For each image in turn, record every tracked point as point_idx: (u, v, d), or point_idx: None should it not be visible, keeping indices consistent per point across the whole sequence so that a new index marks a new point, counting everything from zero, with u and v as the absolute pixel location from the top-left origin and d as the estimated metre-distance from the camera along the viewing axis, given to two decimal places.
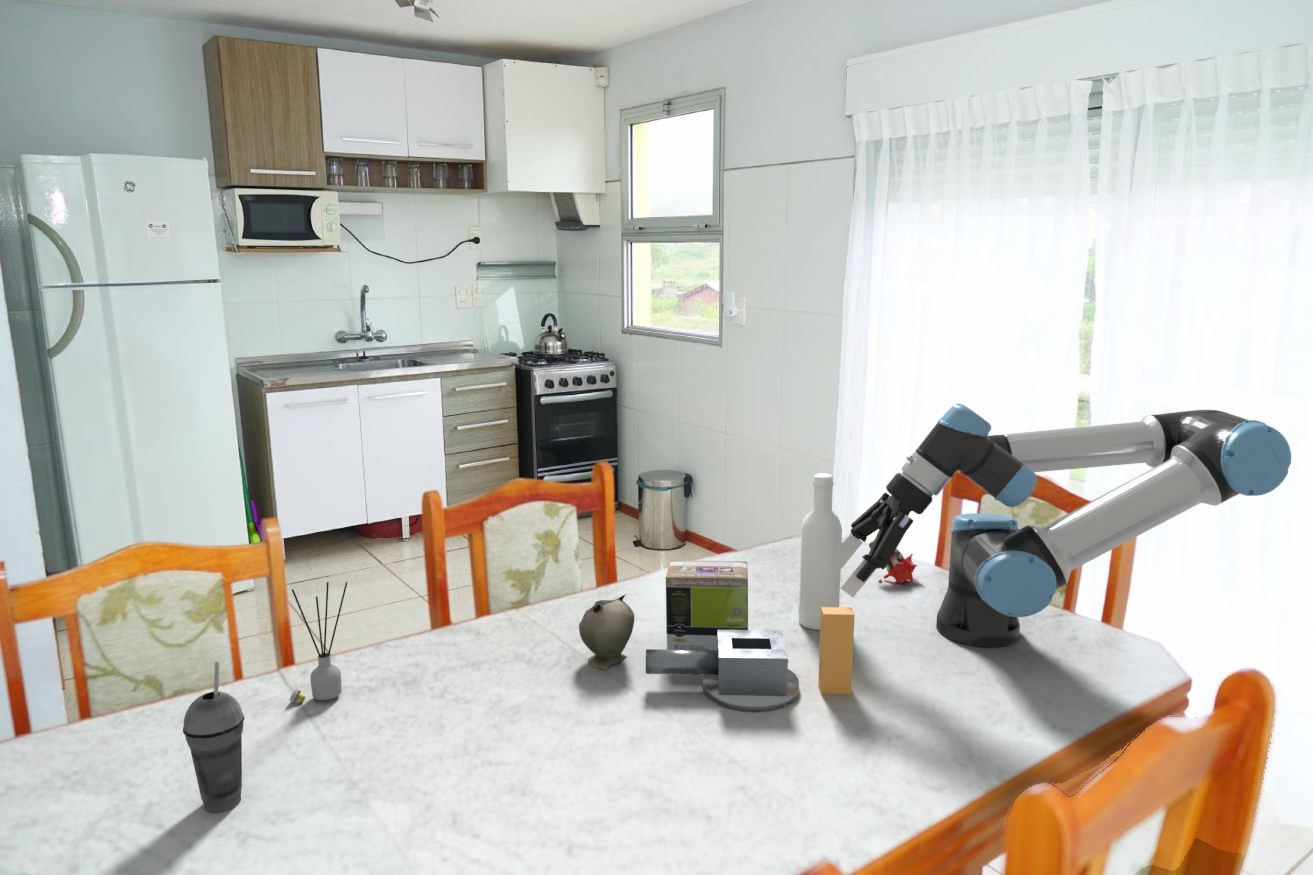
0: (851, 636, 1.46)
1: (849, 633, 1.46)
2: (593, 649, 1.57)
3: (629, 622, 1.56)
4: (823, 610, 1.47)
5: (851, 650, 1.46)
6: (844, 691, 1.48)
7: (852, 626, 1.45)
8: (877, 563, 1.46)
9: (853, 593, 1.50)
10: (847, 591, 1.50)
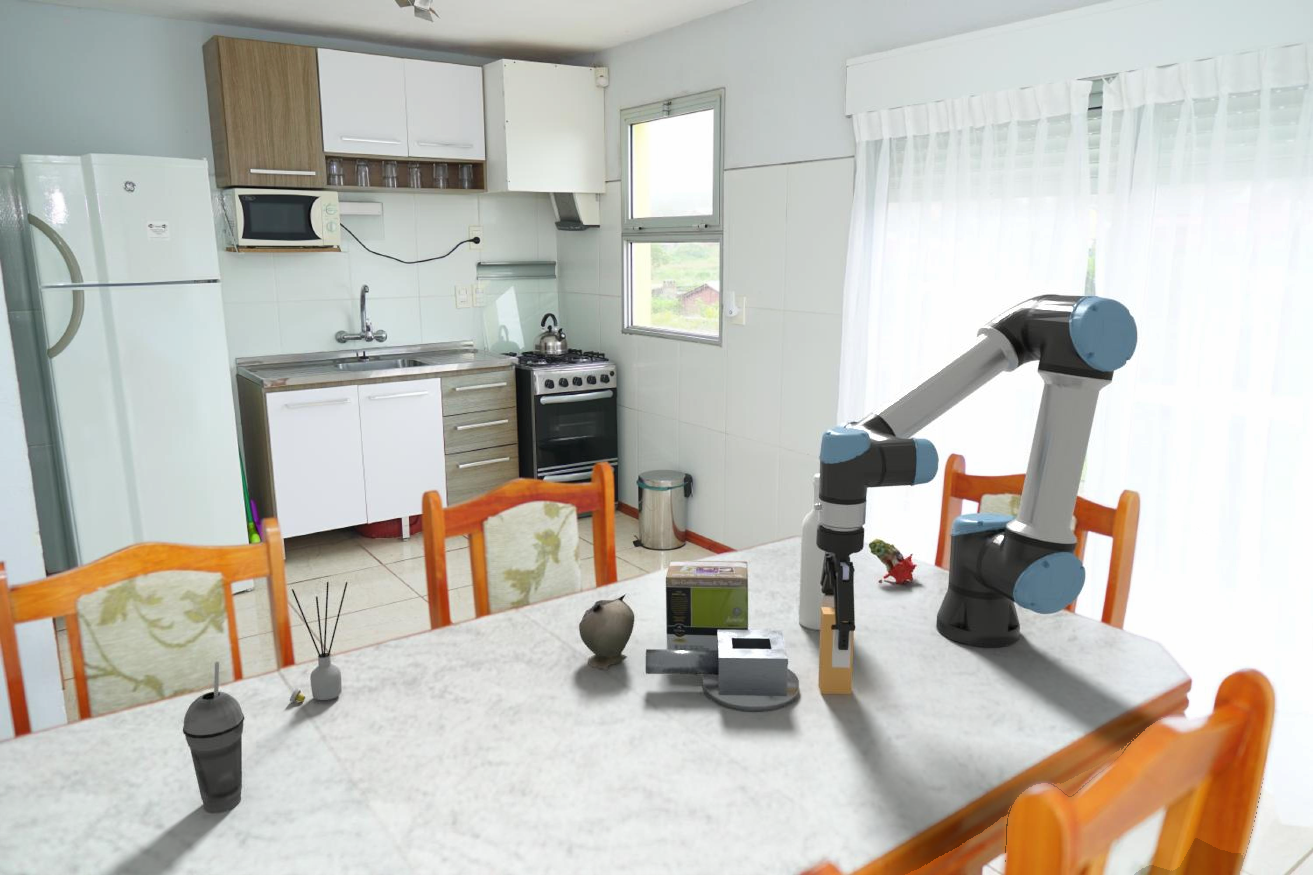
0: None
1: None
2: (593, 649, 1.57)
3: (629, 622, 1.56)
4: (823, 610, 1.47)
5: (851, 650, 1.46)
6: (844, 691, 1.48)
7: None
8: (845, 629, 1.36)
9: (847, 664, 1.41)
10: (840, 665, 1.41)
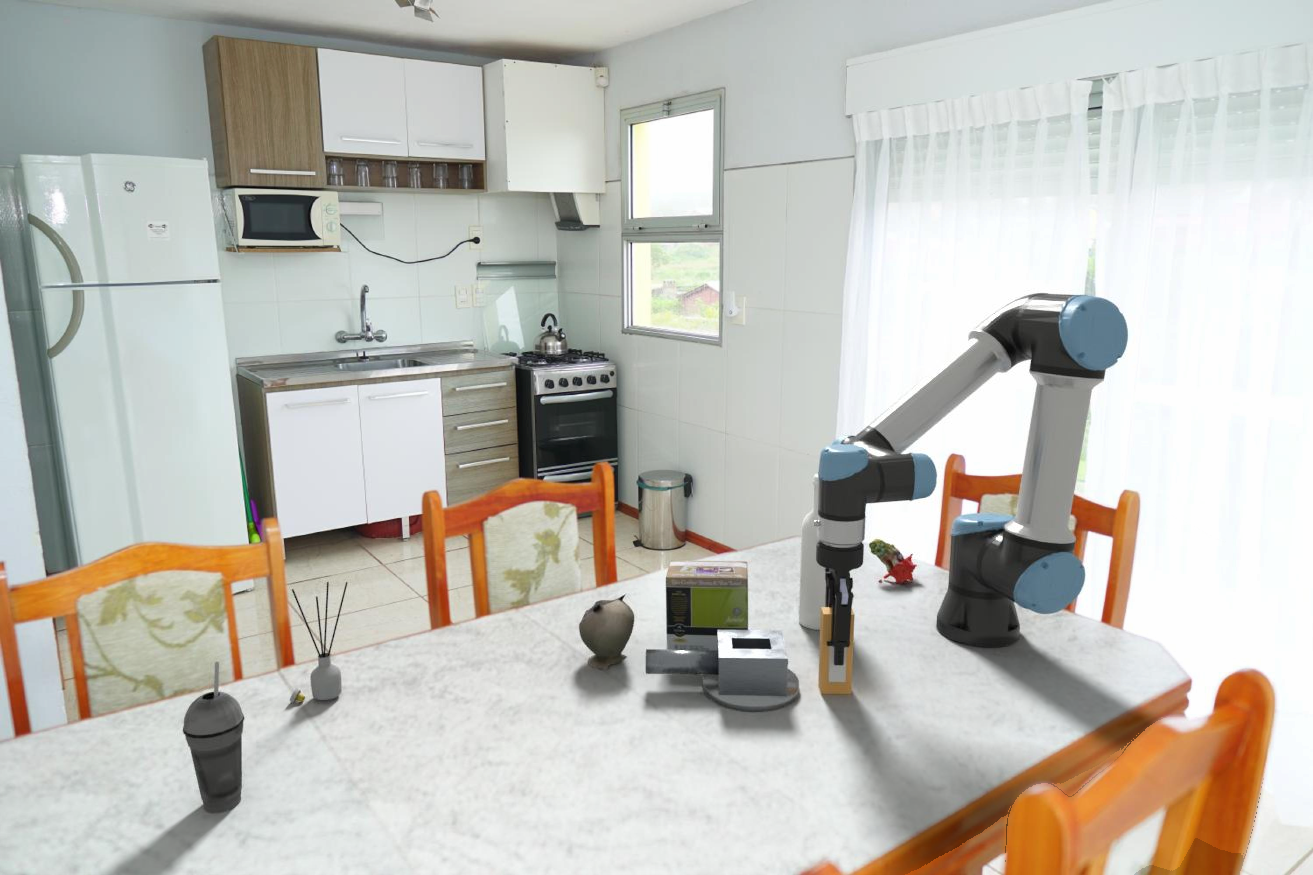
0: (851, 636, 1.46)
1: None
2: (593, 649, 1.57)
3: (629, 622, 1.56)
4: (823, 610, 1.47)
5: (851, 650, 1.46)
6: (844, 691, 1.48)
7: (852, 626, 1.45)
8: (840, 645, 1.42)
9: (843, 678, 1.46)
10: (836, 680, 1.47)
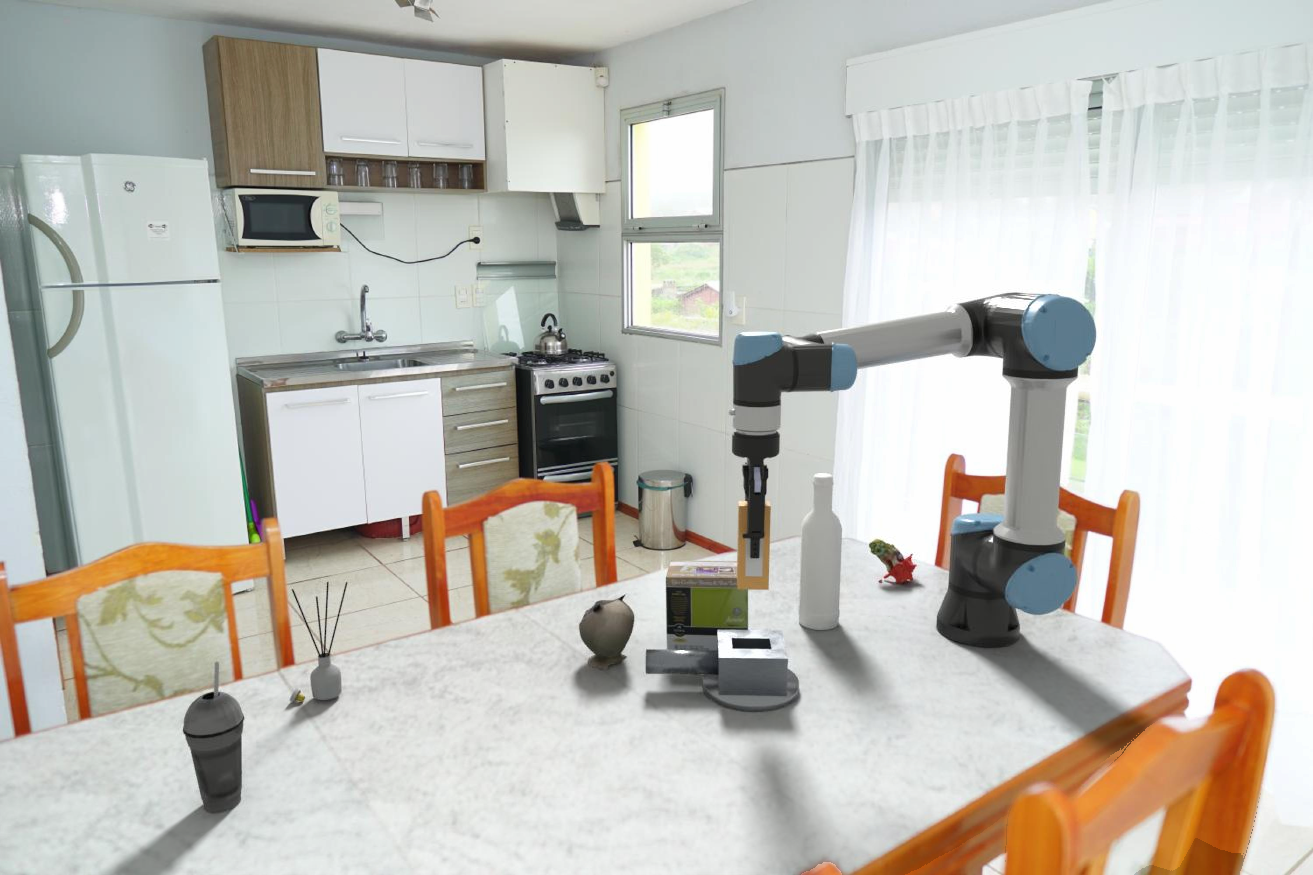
0: (767, 528, 1.43)
1: (765, 526, 1.43)
2: (593, 649, 1.57)
3: (629, 622, 1.56)
4: (740, 503, 1.44)
5: (768, 544, 1.43)
6: (761, 586, 1.45)
7: (768, 518, 1.42)
8: (754, 536, 1.39)
9: (760, 573, 1.43)
10: (753, 574, 1.44)
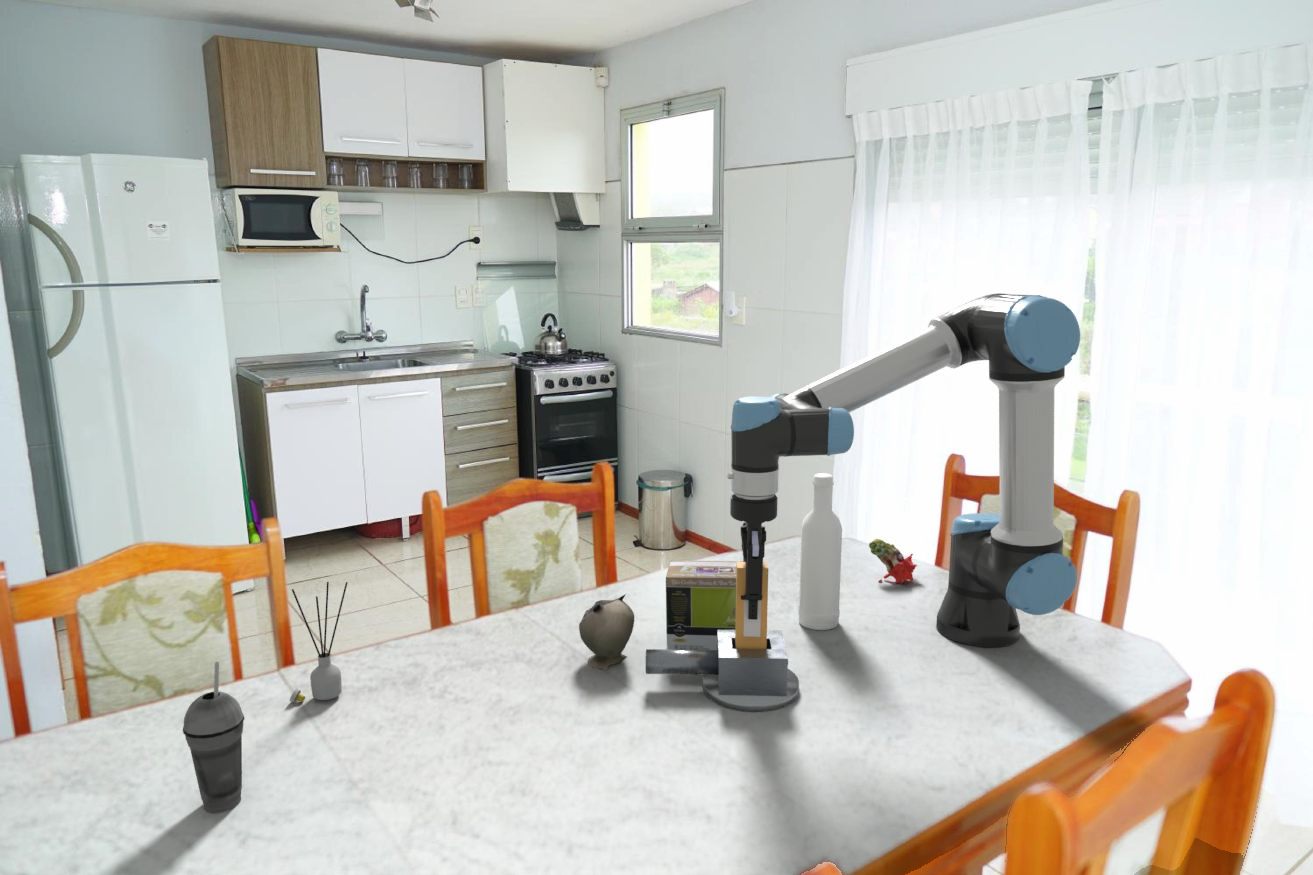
0: (765, 590, 1.45)
1: (763, 587, 1.45)
2: (593, 649, 1.57)
3: (629, 622, 1.56)
4: (738, 564, 1.46)
5: (766, 604, 1.45)
6: (759, 646, 1.47)
7: (766, 580, 1.44)
8: (752, 599, 1.41)
9: (758, 633, 1.46)
10: (751, 634, 1.46)
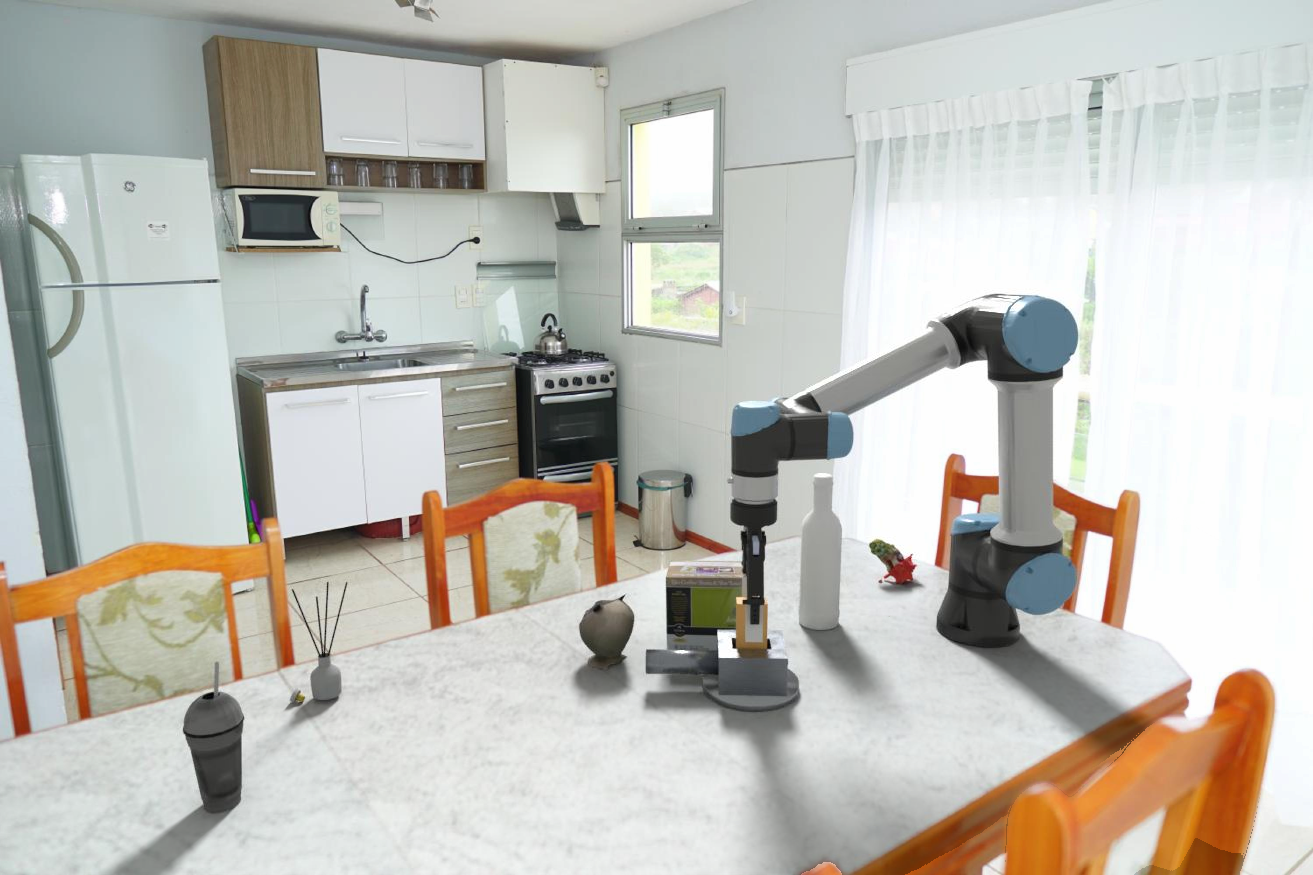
0: (765, 625, 1.46)
1: (763, 623, 1.46)
2: (593, 649, 1.57)
3: (629, 622, 1.56)
4: (737, 600, 1.47)
5: (765, 640, 1.47)
6: None
7: (766, 616, 1.46)
8: (754, 603, 1.37)
9: (760, 638, 1.41)
10: (753, 640, 1.41)
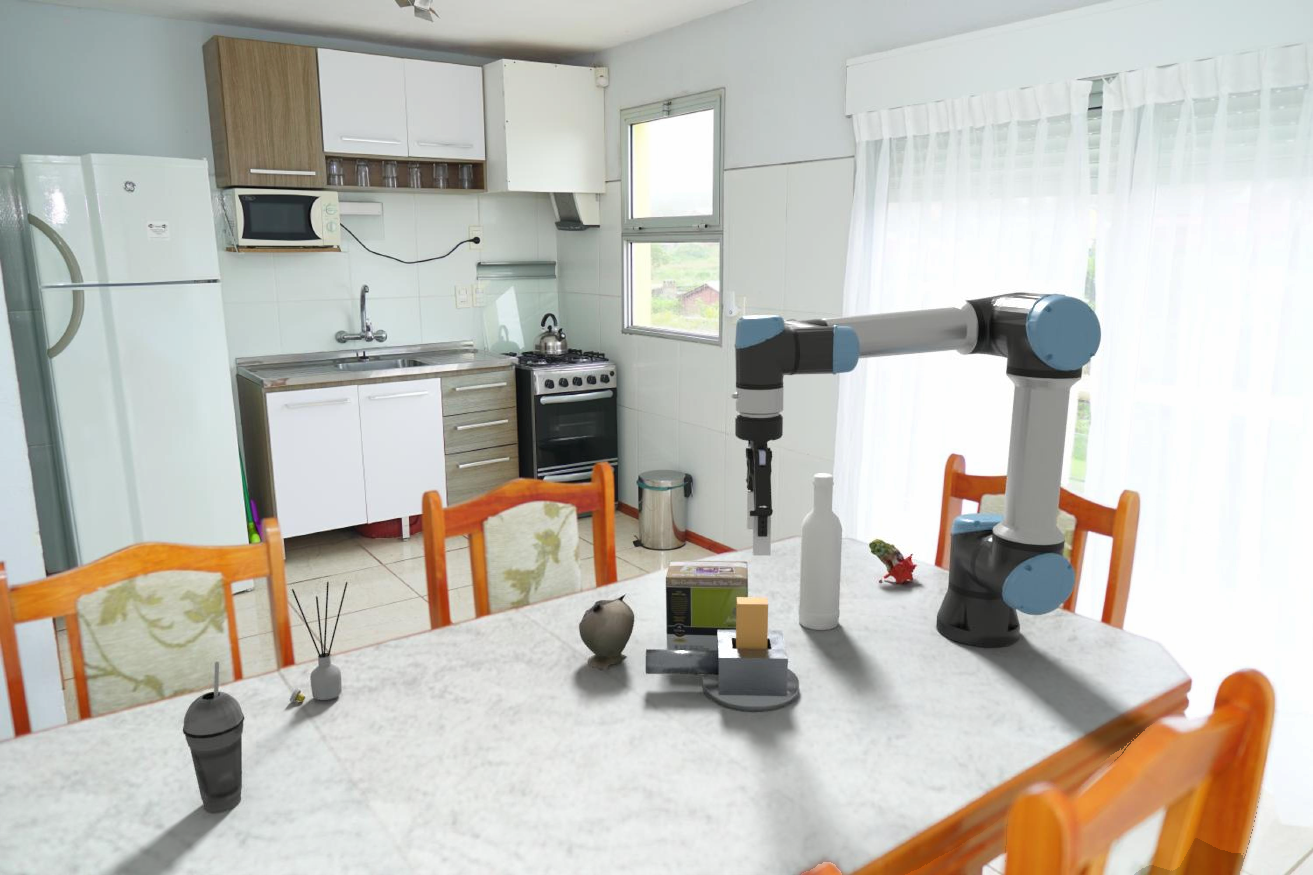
0: (765, 625, 1.46)
1: (763, 623, 1.46)
2: (593, 649, 1.57)
3: (629, 622, 1.56)
4: (738, 600, 1.47)
5: (765, 640, 1.47)
6: None
7: (766, 616, 1.46)
8: (762, 513, 1.35)
9: (768, 552, 1.39)
10: (761, 553, 1.39)
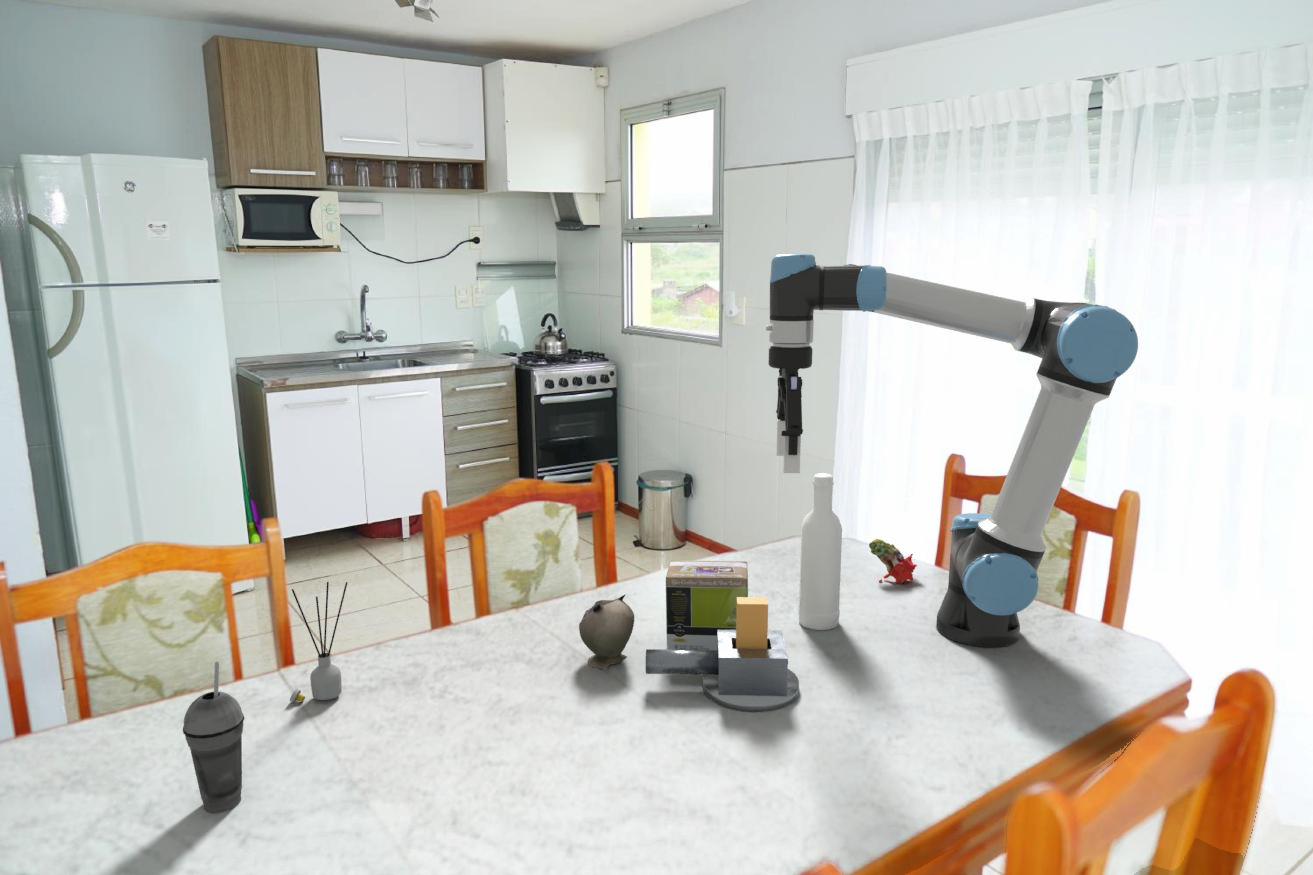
0: (765, 625, 1.46)
1: (763, 623, 1.46)
2: (593, 649, 1.57)
3: (629, 622, 1.56)
4: (738, 600, 1.47)
5: (765, 640, 1.47)
6: None
7: (766, 616, 1.46)
8: (793, 432, 1.48)
9: (797, 470, 1.52)
10: (791, 471, 1.52)
